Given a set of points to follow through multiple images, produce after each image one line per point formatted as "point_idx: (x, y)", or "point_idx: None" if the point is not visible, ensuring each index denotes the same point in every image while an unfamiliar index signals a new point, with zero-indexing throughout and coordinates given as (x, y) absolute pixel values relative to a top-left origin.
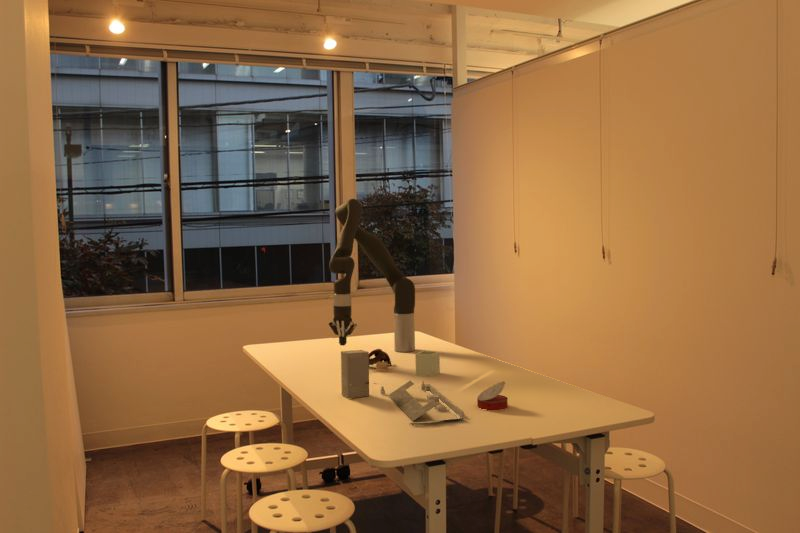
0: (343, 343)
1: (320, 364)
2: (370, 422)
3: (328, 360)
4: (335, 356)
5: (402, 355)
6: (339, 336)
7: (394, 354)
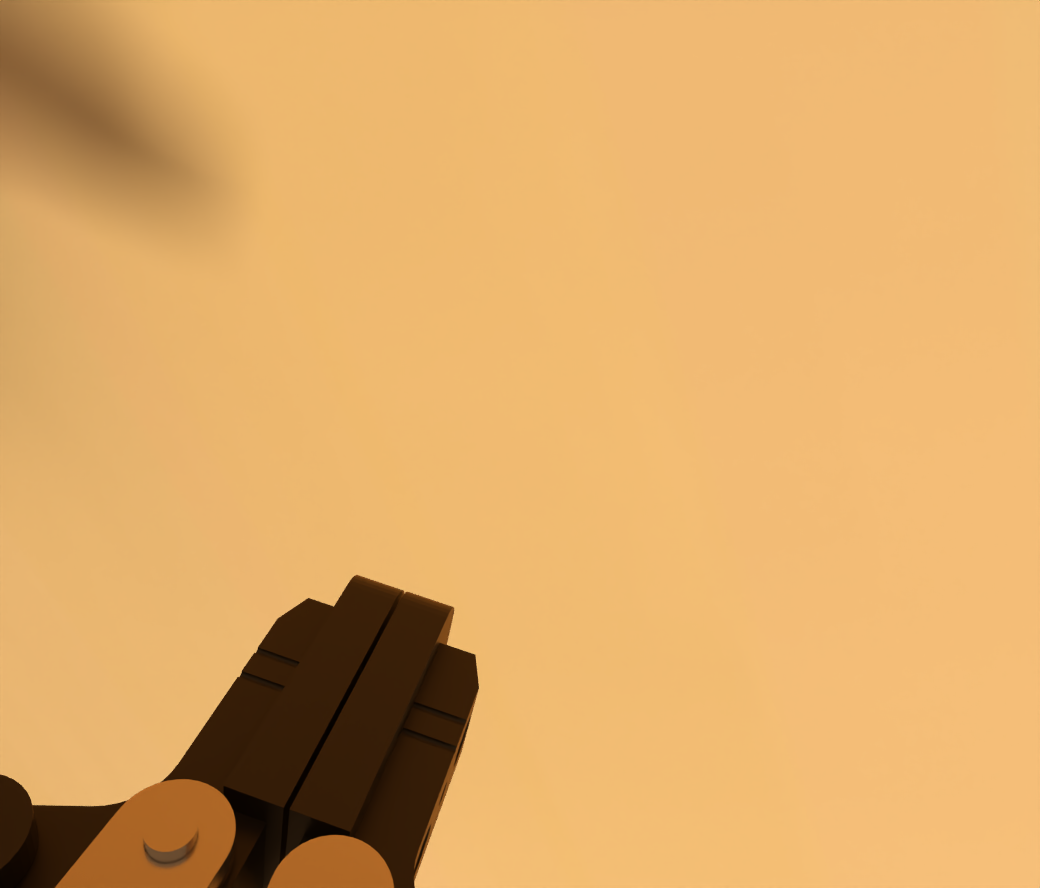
0: (330, 624)
1: (1004, 230)
2: None
3: (874, 594)
4: (807, 829)
5: (23, 787)
6: (356, 840)
7: None
